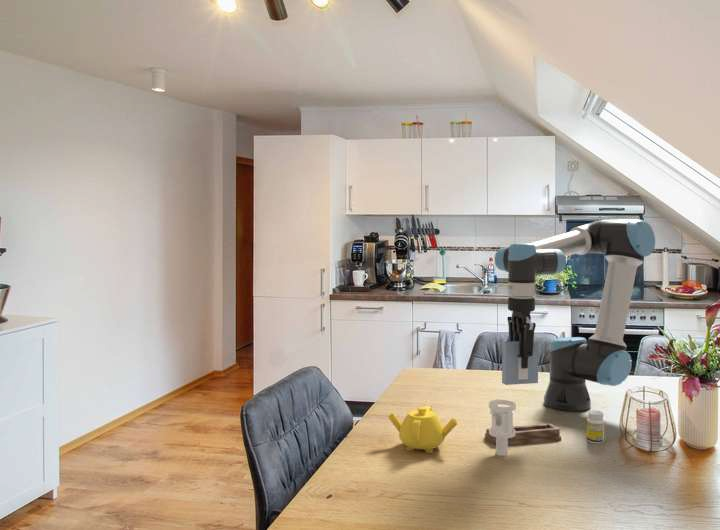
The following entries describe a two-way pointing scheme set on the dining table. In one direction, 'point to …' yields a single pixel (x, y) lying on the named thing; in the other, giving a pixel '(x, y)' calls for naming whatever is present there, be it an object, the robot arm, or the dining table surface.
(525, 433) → the track
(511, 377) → the door panel
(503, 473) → the dining table surface
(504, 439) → the strainer
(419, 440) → the teapot
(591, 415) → the supplement bottle
